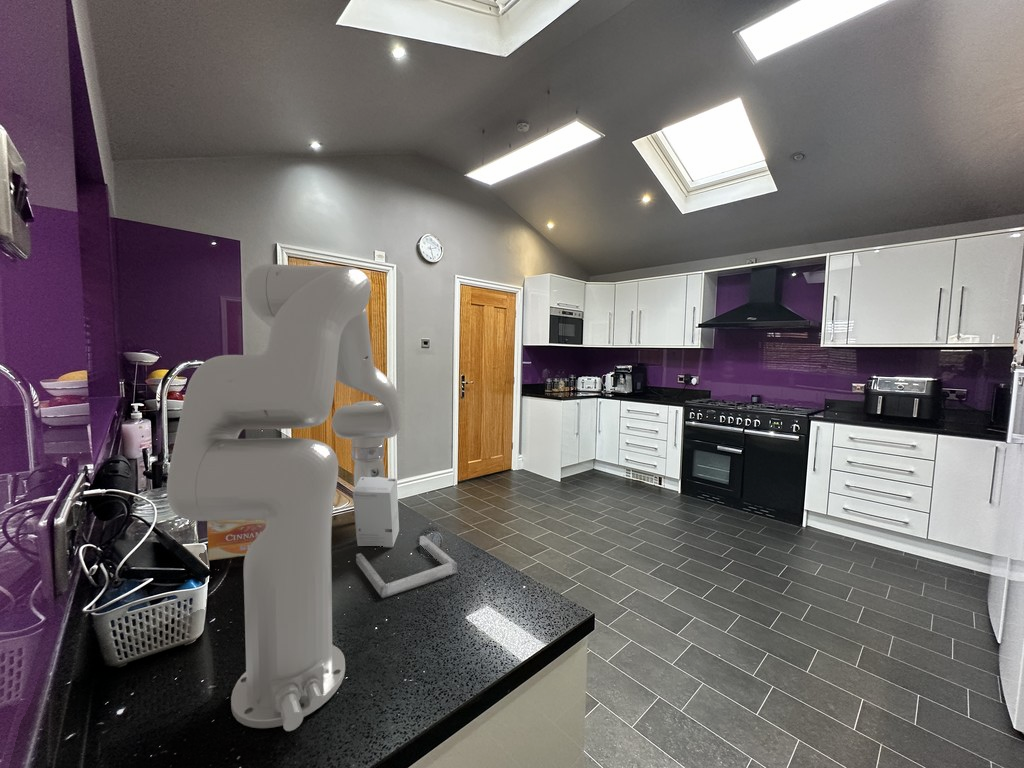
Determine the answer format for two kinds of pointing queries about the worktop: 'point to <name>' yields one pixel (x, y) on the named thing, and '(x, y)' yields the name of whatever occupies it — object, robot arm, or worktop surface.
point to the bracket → (415, 580)
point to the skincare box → (376, 511)
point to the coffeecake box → (232, 537)
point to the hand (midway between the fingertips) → (368, 520)
